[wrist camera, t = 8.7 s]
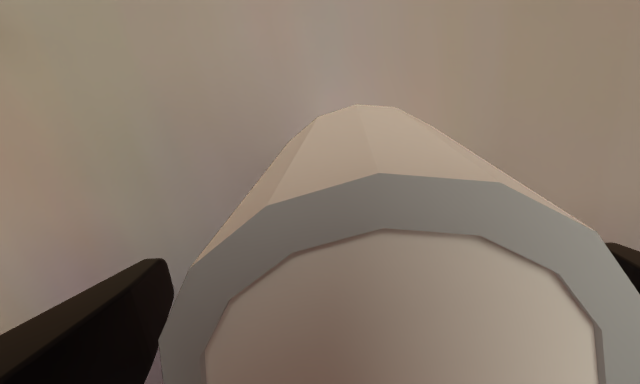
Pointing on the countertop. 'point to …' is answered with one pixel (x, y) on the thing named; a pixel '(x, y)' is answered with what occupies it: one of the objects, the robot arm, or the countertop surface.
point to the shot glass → (399, 273)
